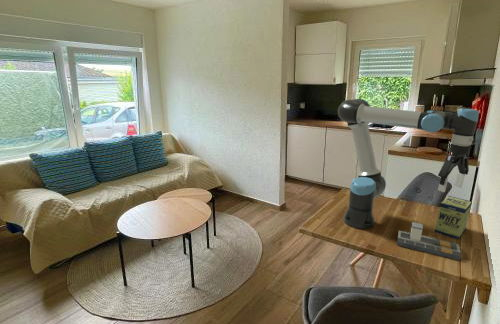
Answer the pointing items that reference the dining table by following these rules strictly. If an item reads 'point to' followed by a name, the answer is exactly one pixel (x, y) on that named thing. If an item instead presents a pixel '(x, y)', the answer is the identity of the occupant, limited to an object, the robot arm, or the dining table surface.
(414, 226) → the fader knob
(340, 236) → the dining table surface
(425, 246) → the console board
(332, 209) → the dining table surface
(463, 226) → the protein box
